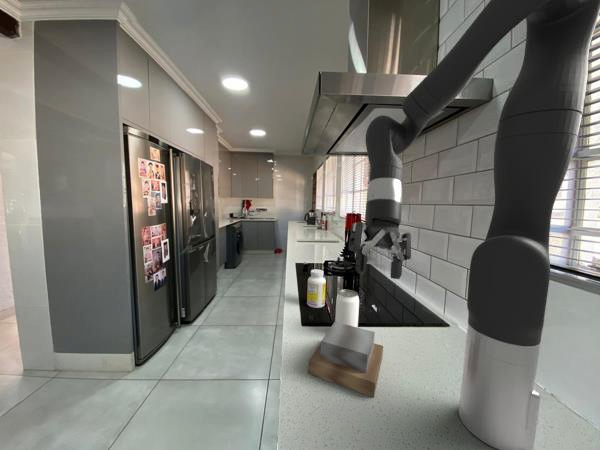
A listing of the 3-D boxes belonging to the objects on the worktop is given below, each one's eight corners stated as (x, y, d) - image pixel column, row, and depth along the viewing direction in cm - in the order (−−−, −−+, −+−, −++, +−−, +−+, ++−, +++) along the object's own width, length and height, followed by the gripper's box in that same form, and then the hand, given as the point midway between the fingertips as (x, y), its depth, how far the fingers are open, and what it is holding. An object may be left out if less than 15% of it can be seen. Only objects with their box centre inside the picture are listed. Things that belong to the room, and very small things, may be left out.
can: (340, 340, 66) (342, 297, 65) (331, 328, 73) (333, 289, 72) (361, 337, 68) (364, 296, 67) (350, 326, 74) (352, 288, 73)
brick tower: (382, 357, 59) (384, 330, 59) (373, 397, 47) (376, 363, 46) (328, 341, 65) (329, 316, 65) (307, 373, 53) (309, 342, 52)
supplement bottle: (320, 300, 93) (322, 268, 92) (327, 307, 87) (329, 273, 86) (304, 301, 91) (305, 268, 90) (310, 309, 85) (311, 273, 84)
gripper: (366, 190, 48) (359, 273, 45) (422, 205, 52) (419, 281, 49) (347, 199, 55) (340, 271, 52) (397, 212, 59) (393, 279, 56)
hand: (378, 276), depth 51 cm, fingers open, 8 cm apart
